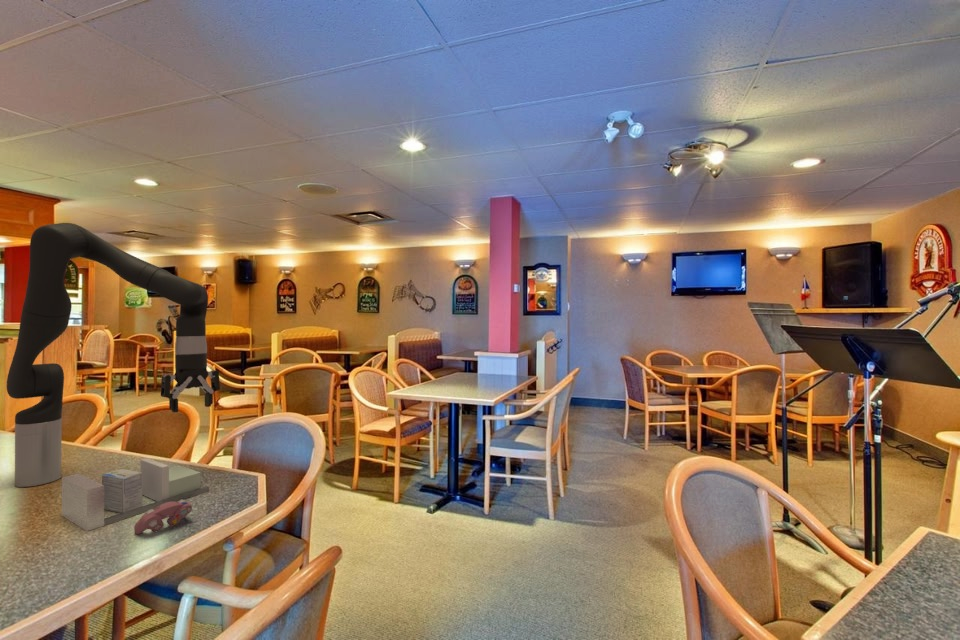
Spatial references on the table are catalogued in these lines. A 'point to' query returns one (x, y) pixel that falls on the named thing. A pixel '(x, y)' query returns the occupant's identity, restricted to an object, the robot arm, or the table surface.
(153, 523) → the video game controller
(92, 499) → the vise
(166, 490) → the sliding jaw
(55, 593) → the table surface
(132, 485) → the medicine box
